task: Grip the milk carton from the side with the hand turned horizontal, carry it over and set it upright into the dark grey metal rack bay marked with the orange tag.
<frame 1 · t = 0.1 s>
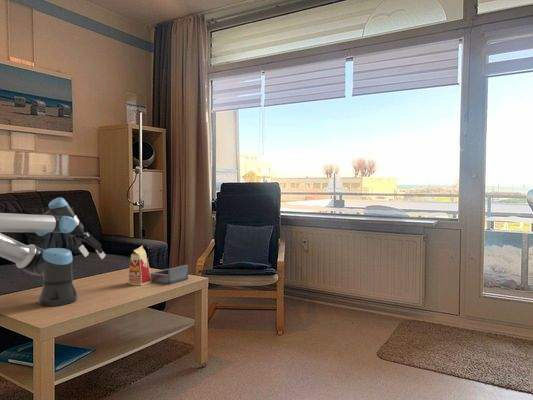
hand: (95, 256, 209), 15 cm above the table, tool tilted 35°, fingers open, 13 cm apart
milk carton: (139, 283, 213), on the table
rack bay: (169, 280, 220), on the table
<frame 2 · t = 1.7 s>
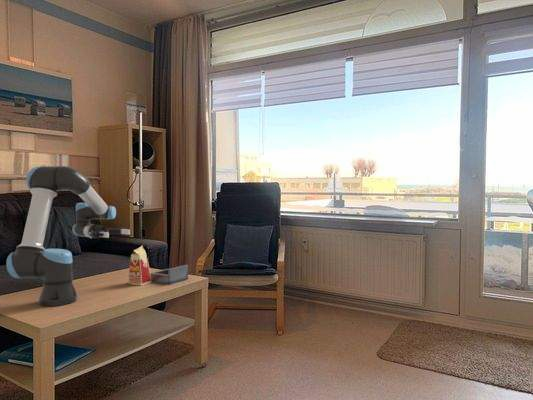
hand: (119, 233, 213), 27 cm above the table, tool horizontal, fingers open, 13 cm apart
nothing on the table moved.
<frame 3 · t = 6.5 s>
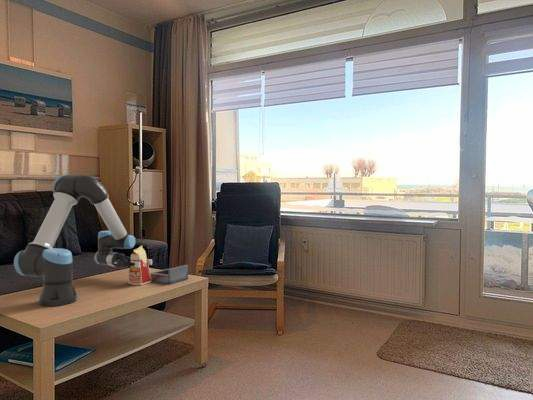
hand: (145, 263, 211), 11 cm above the table, tool horizontal, fingers closed on milk carton, 7 cm apart
milk carton: (139, 283, 213), on the table, touching gripper
when the fingers open (14 cm above the table, at t = 10.7 s): milk carton drops 1 cm, resting on rack bay.
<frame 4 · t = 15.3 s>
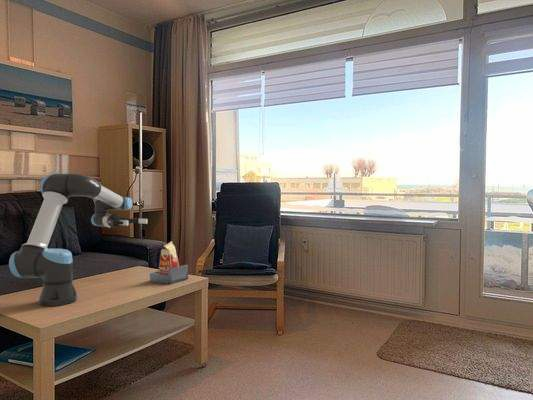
hand: (137, 222, 223), 32 cm above the table, tool horizontal, fingers open, 13 cm apart
milk carton: (169, 277, 220), point 1 cm above the table, touching rack bay
at the end: milk carton 0.0 cm off-centre on the rack bay, point 1.3 cm above the rack bay's base; milk carton tilted 0°; the gripper is holding nothing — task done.
